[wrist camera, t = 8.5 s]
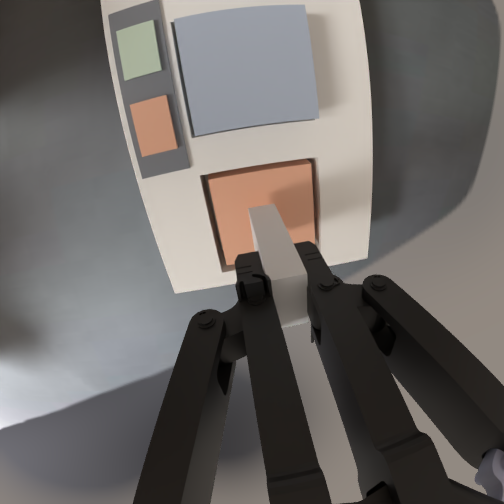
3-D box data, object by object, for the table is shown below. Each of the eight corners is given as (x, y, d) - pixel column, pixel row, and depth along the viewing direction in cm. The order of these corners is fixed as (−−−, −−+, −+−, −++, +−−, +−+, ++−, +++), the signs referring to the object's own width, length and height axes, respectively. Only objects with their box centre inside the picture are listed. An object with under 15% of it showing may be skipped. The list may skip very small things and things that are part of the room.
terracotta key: (225, 245, 22) (226, 265, 20) (208, 167, 18) (207, 180, 16) (305, 231, 22) (315, 249, 20) (299, 153, 19) (311, 163, 16)
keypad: (180, 259, 24) (174, 297, 20) (115, -58, 9) (94, -83, 5) (346, 230, 24) (369, 261, 20) (310, -82, 9) (331, -109, 5)
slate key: (198, 128, 15) (194, 136, 13) (180, 28, 12) (173, 19, 10) (305, 113, 15) (319, 118, 13) (292, 14, 12) (304, 4, 10)
